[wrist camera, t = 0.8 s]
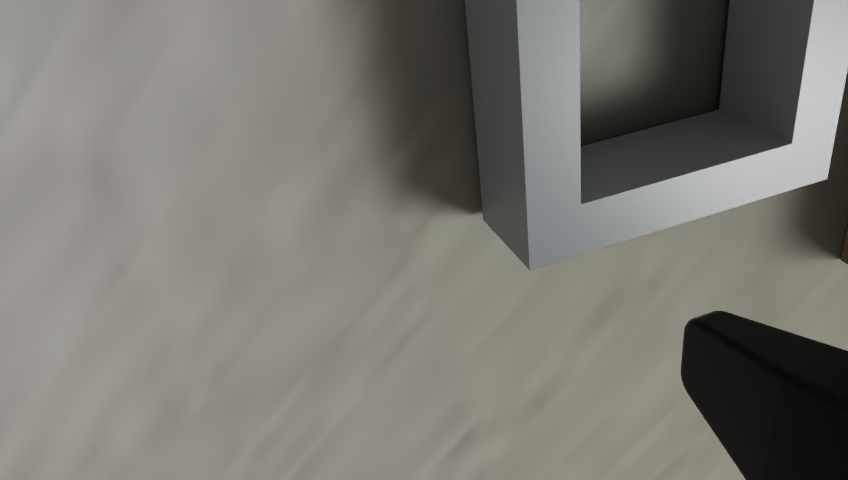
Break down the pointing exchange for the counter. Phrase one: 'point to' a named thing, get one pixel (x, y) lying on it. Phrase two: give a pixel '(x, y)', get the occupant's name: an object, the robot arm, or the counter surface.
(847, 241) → the rail
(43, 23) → the counter surface
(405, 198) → the counter surface
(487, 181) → the socket block
